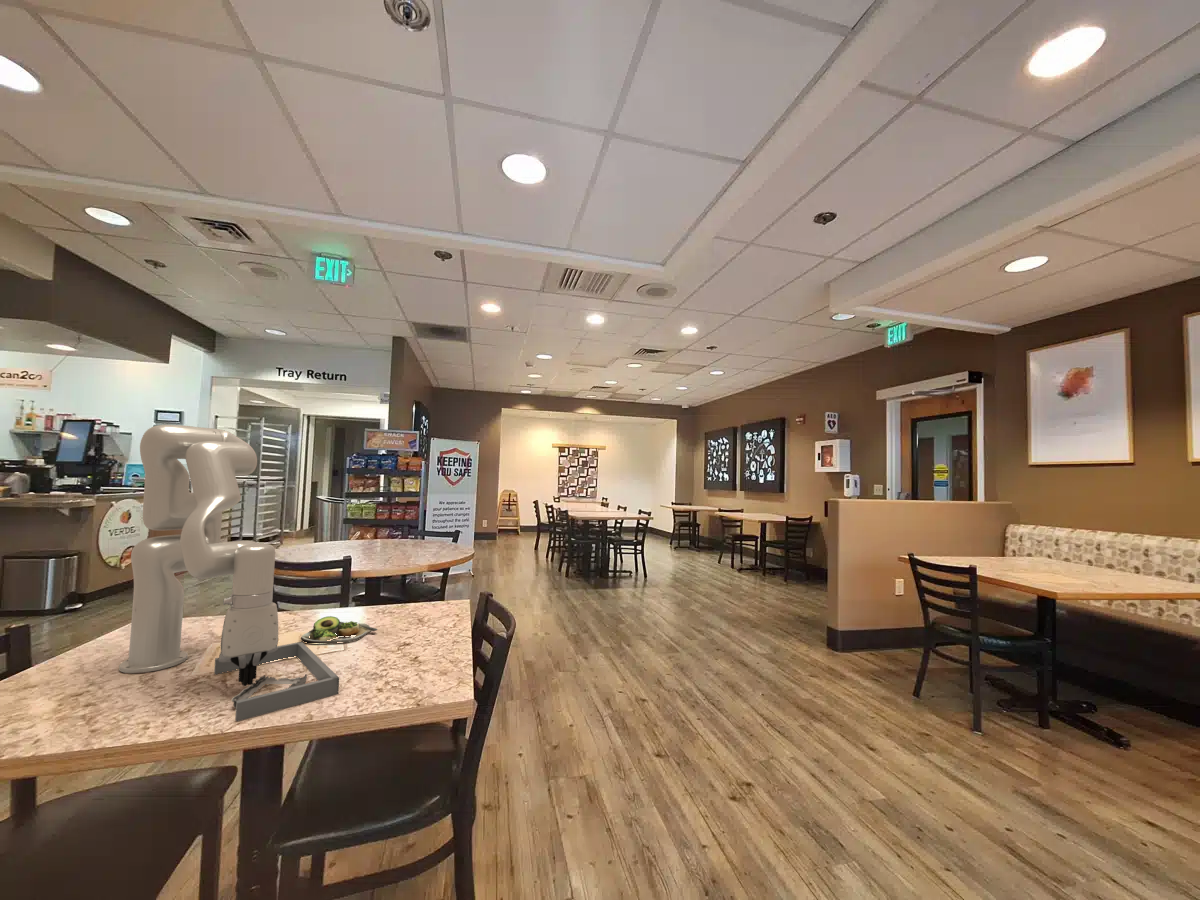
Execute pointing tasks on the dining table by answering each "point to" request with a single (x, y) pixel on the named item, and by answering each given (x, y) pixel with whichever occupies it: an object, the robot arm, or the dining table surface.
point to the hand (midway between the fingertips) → (246, 683)
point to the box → (289, 696)
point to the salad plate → (335, 631)
